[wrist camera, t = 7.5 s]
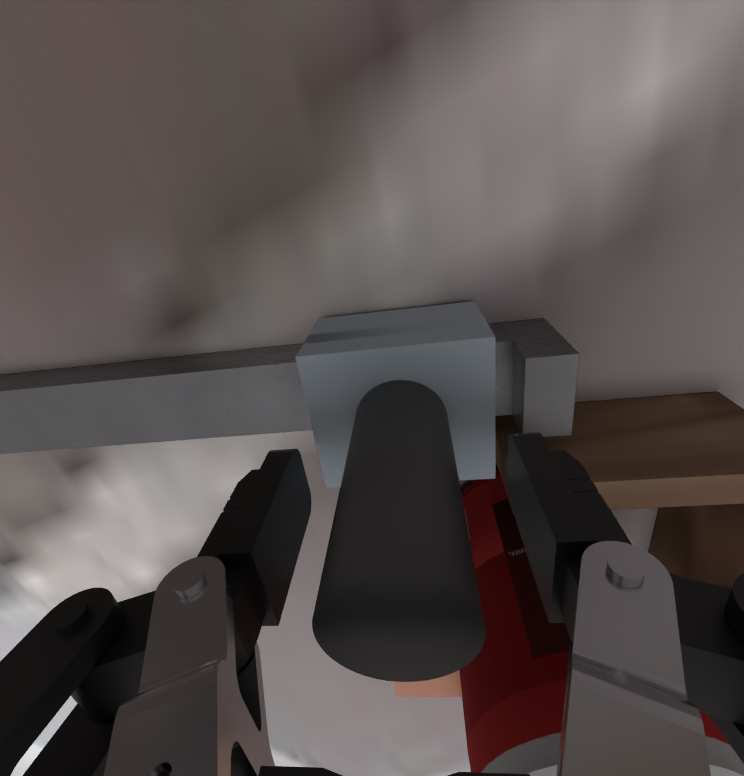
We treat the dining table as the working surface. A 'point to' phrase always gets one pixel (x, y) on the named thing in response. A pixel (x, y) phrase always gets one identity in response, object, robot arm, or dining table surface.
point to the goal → (664, 473)
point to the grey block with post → (401, 488)
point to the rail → (249, 394)
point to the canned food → (523, 655)
